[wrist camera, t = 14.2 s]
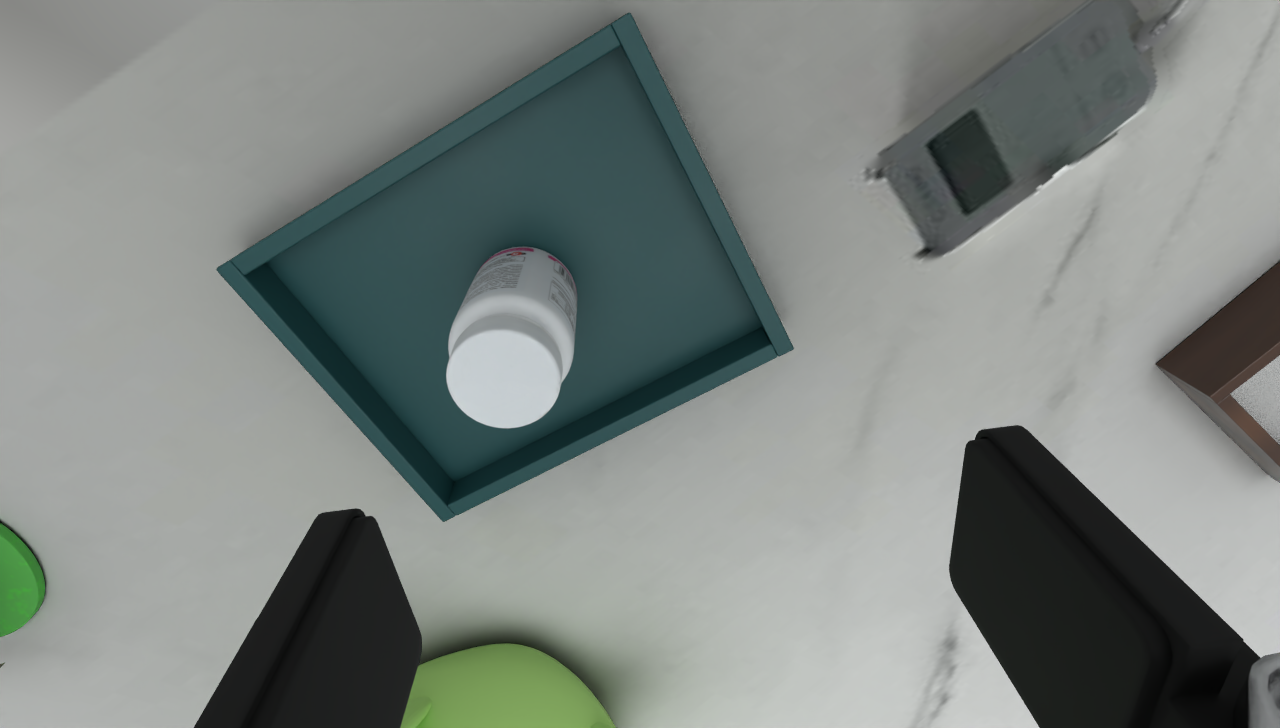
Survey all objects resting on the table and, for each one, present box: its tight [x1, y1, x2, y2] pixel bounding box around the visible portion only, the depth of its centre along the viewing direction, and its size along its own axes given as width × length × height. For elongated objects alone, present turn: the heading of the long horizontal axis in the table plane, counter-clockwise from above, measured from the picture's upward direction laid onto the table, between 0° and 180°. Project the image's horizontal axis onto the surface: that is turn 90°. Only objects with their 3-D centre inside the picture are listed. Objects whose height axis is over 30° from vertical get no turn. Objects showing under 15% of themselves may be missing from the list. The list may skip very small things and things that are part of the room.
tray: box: [216, 13, 794, 522], centre depth 30 cm, size 20×16×3 cm
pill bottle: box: [446, 247, 577, 428], centre depth 27 cm, size 5×5×8 cm
